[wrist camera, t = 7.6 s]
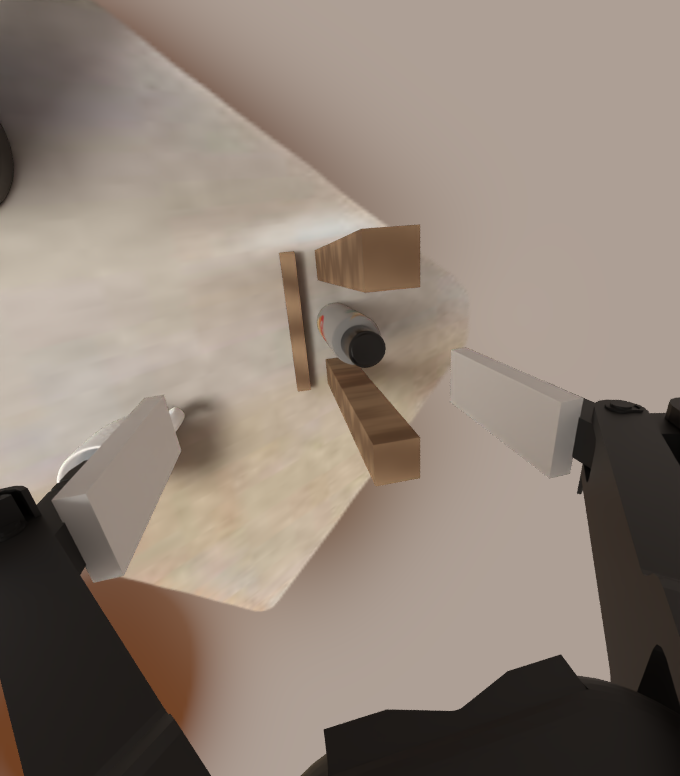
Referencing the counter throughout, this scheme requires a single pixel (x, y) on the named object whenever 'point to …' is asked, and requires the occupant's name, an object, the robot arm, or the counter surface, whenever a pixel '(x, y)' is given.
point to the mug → (100, 437)
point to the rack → (348, 382)
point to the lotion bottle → (351, 335)
